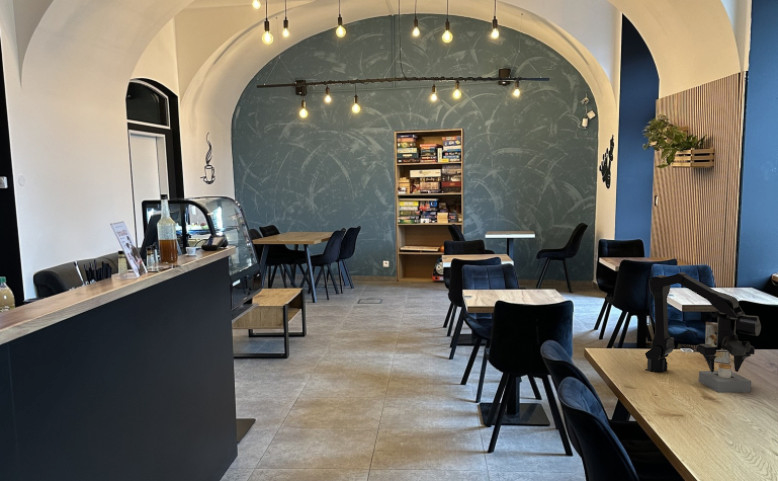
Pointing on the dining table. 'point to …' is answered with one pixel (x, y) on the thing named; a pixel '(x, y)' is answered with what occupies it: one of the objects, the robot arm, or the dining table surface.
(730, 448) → the dining table surface
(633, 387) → the dining table surface
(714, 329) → the coffee box
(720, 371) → the plug
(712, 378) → the header
